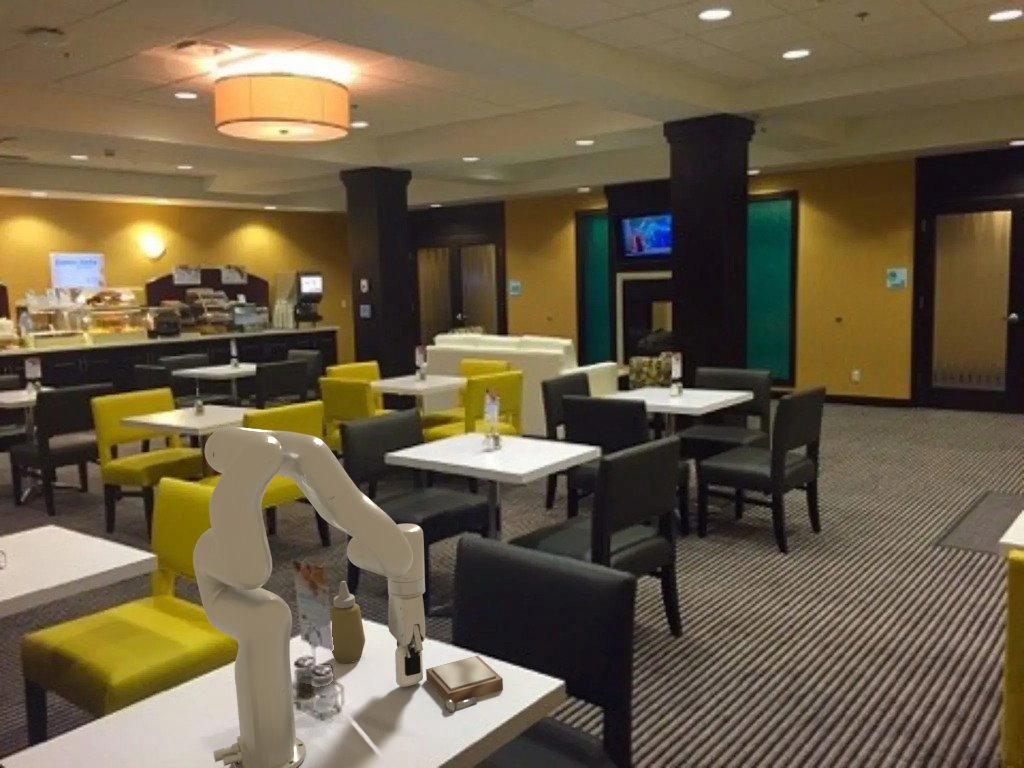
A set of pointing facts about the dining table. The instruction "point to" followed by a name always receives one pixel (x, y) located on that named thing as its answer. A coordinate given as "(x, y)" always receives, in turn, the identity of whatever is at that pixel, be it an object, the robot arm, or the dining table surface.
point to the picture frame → (464, 679)
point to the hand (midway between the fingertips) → (409, 669)
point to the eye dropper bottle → (400, 668)
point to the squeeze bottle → (346, 627)
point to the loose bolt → (459, 704)
